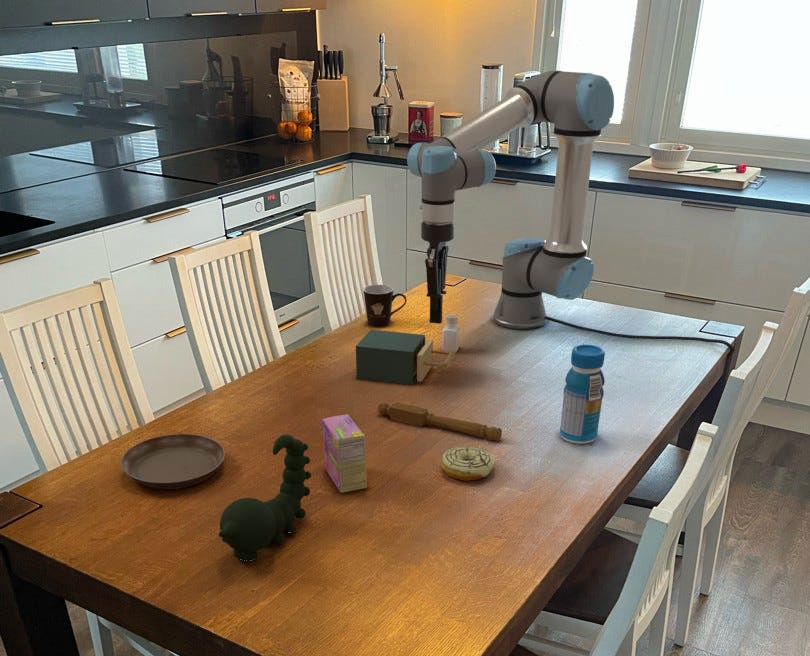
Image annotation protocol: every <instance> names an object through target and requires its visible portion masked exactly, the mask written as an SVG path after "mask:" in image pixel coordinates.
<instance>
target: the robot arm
mask: <svg viewBox="0 0 810 656" xmlns="http://www.w3.org/2000/svg"><path fill="white" fill-rule="evenodd" d="M615 100H616V99H615V93H614V89H613V86H612V85H611V83H610V81H609V80H608V78H606V77H605V76H603V75H599V74H594V73H593V72H578V71H577V72H576V71H563V70H549V71H544V72H542V73H538V74H537V75H534V76H532V77H530V78H528V79H525V80H524V81H522V82H519V83H518V84H516V85H515V86H514V87H512V88H510V89H508V91H507V92H506V94H505V96H504V98H502V99H501V100H499V101H498V102H496V103H494V104H492V105H491V106H489V107H487V108H486V109H484V110H483V111H481V112H479V113H478V114H476V115H474V116H473V117H471V118H470V119H468V120H466V121H464V122H462V124H460V125H458V126H456V127H454V128H453V129H452V130H450V131H448V132H447V133H445V134H443V135H442V136H441V137H439V138H437V139H435V140H433V141H432V142H429V143H428V142H417V143H414V144H413V145H412V146H411V147H410V149H409V151H408V152H407V157H406V162H407V163H406V164H407V167H408V170H409V172H410V174H412V175H413V176H416V177H419V178H420V179H421V204H420V205H419V207H418V208H419V210H421V220H422V222H421V224H420V238H421V239H422V240H423V241H424V242H427V243H428V248H427V249H426V256H427V258H425V260H424V262H425V263H424V264H425V269H426V271H425V272H426V288H427V293H426V297H428V298H429V323H430V324H439V325H441V324H442V322H443V304H444V303H443V300H444V299H443V298H444V295H447V290H445V289H446V278H447V267H448V255H449V249H450V248H449V245H446V244H447V243H448V242H450V241H453V239H454V238H455V223H454V222H453V221H455V217H456V216H455V215H456V192H457V191H460V190H466V189H473V188H480V187H481V186H484V185H487V184H489V183H491V182H492V181H493V179H494V178H495V175H496V168H497V164H496V160H495V158H494V156H493V154H492V153H491V152H490V151H488V150H486V148H488V147H489V146H491V145H493V144H494V143H496V142H497V141H499V140H501V139H502V138H503V137H505V136H506V135H509V134H510V133H512V132H513V131H515V130H516V129H518V128H522V129H525V128H527V127H529V126H531V125H532V124H536V123H551V124H553V136H554V137H555V138H556V139H557V141H558V148H557V157H556V167H555V178H554V190H553V198H552V199H553V200H552V208H551V211H552V212H551V219H550V220H551V221H550V230H549V239H548V240H546V238H542V237H521V238H515V239H512V240H509V241H508V242H506V243H505V245H504V248H503V255H502V270H501V271H502V272H501V291H500V296H499V299H498V301H497V304H496V306H495V308H494V312H493V322H494V323H495V324H496V325H498V326H500V327H503V328H507V329H512V330H531V329H537V328H540V327H543V326H544V325H545V324H546V323H547V321H550V322H553V323H557V324H560V325H562V326H566V327H569V328H572V329H577V330H580V331H585V332H589V333H595V334H600V335H605V336H610V337H615V338H623V339H624V338H625V339H634V340H635V339H636V340H673V341H675V340H677V341H696V342H703V343H711V344H714V343H715V344H721V345H724V346H726V347H727V348H728V349H729V350H730V351H733V352H735V351H736V350H735V348H734V346H733V345H732V344H731V343H729V342H728V341H726V340H723V339H716V338H715V339H714V338H705V337H699V336H698V337H696V336H679V335H678V336H676V335H674V336H673V335H637V334H635V335H634V334H624V333H617V332H610V331H606V330H600V329H596V328H591V327H586V326H582V325H577V324H573V323H570V322H567V321H563V320H560V319H558V318H553V317H550V316H547V312H546V306H545V302H544V299H543V294H546V295H549V296H552V297H555V298H556V299H561V300H562V299H564V300H567V301H574V300H575V299H577V298H579V297H581V296H582V295H583V294H584V293H585V291H586V290H587V289H588V288H589V286H590V285H591V282H592V280H593V275H594V271H595V270H594V269H595V267H594V263H593V260H592V259H591V258H589V257H588V256H587V251H588V246H587V245H586V243H585V242H584V240H583V237H584V236H583V235H584V228H585V220H586V210H587V203H588V194H589V185H590V177H591V167H592V159H593V151H594V143H595V142H596V140H597V139H599V138H600V137H601V136H602V135H601V134H602V130H603V129H605V128H606V127H608V125H609V124H610V122H611V119H612V117H613V115H614V110H615Z"/></svg>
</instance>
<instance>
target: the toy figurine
mask: <svg viewBox="0 0 810 656" xmlns="http://www.w3.org/2000/svg"><path fill="white" fill-rule="evenodd" d="M282 449H285V453H286V454H285V456H284V458H283V462H284V467H285V468H284V469H283V470H282V480H283V481H281V483H280V486H279V493H278V494H276V495H275V497H274V498H270V499H269V500H267V501H263V500H260V499H257V498H254V497H243V498H239V499H236V500H234V501H232V502H231V503H229V504H228V505H227V506H226V507H225V509H224V510H223V512H222V513H221V517H220V520H219V533H218V537H220V538H221V541H222V542H223V543H225V544H226V545H228V547H230V548H232V549H233V555H234V558H236V557H237V558H238V559H237V558H236V559H237V560H239V561H241V562H243V563H252V562H254V561H255V560H256V559H257V557H258V552H259V551H261V550H263V549H264V548H265V547H267V546H269V544H270V543H271V544H272V545H275V544H276V545H275V546H280V545H282V544H283V543H284V541H285V540H286V537H285V533H286V534H287V535H288V536H293V535H294V534H296V531H297V526H296V525H295V524H294V522H295V518H296V519H298V520H299V519H300V520H302V519H304V518H305V517H306V515H307V513H306V510H305V509H304V508H302V502H301V500H302V499H304V497H308V496H310V494H311V489H310V488H309V487H308V486H305V484H304V483H305V481H306V480H310V479H311V478H312V473H311V472H310V471H309V470H305V469H304V468H305V467H306V465H308V464H310V463H311V458H310V457H309V456H305V451H307V450H308V449H309V445H308V443H304V442H303V441H302V440H301V439H298V438H294V436H293V435H291V434H282V435H280V436H279V437H277V438H276V440H275V441H274V444H273V448H272V454H273V455H274V456H276V455H278V453H279V452H280V451H281V450H282ZM284 532H285V533H284ZM288 532H291V533H288ZM281 543H282V544H281ZM255 558H256V559H255ZM240 559H242V560H240ZM253 559H254V560H253ZM244 560H245V561H244ZM246 560H247V561H246ZM250 560H252V561H250Z"/></svg>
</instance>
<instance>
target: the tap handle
mask: <svg viewBox="0 0 810 656" xmlns="http://www.w3.org/2000/svg"><path fill="white" fill-rule="evenodd" d="M377 412H378V413H379V414H380V415H382V416H385V415H388V416H389V418H390V420H391V421H394V422H400V423H403V424H408V425H412V426H415V427H420V428H421V427H425V426H426V425H427V426H432V425H434V426H437V427H440V428H443V429H444V428H445V429H447V430H448V429H449V430H451V431H454V432H455V431H456V432H459V433H462V434H467V435H469V436H474V437H478V438H483V439H484V438H487V439H488V440H491V441H496V442H499V441H500V440H501V438H502V435H503V430H502V428H500V427H496V426H490V427H488V425H487V424H482V423H479V422H478V423H477V422H473V421H467V420H461V419H455V418H451V417H445V416H439V415H434V414H435V413H432V412H431V413H430V412H429V411H428V408H425V407H420V406H415V405H411V404H406V403H401V402H394V403H392V404H390V405H389V404H388V403H386V402H381V403H379V404H378V407H377Z"/></svg>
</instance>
